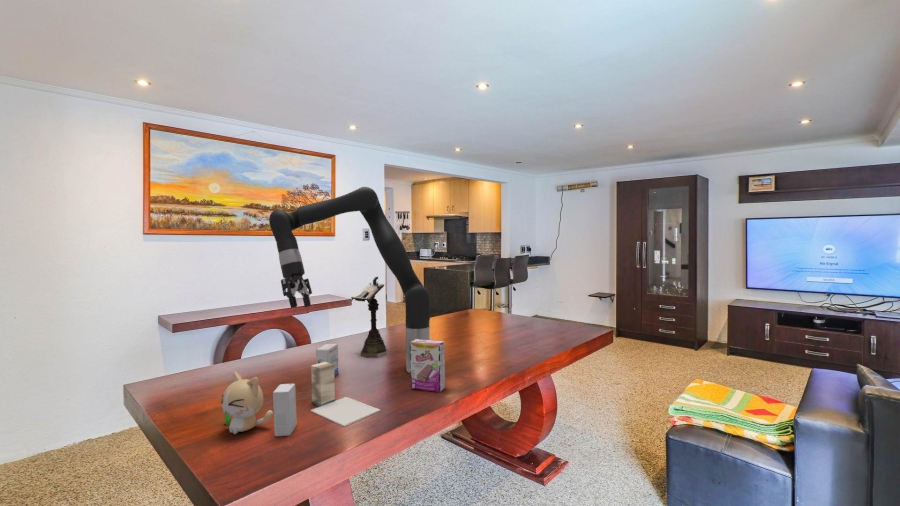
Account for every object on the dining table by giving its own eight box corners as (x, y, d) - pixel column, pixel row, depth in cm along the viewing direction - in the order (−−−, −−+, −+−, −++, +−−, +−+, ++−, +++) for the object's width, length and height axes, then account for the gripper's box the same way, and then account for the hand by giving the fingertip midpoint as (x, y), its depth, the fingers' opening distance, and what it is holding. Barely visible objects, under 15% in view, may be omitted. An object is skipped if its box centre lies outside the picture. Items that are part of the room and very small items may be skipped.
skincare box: (281, 426, 115) (279, 383, 114) (296, 425, 115) (295, 383, 115) (273, 436, 109) (272, 392, 108) (290, 435, 109) (289, 391, 109)
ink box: (327, 373, 159) (326, 343, 159) (339, 373, 158) (338, 343, 158) (315, 380, 151) (314, 349, 150) (328, 381, 150) (327, 349, 149)
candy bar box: (410, 389, 141) (409, 342, 140) (415, 384, 146) (415, 338, 145) (440, 393, 137) (439, 344, 137) (445, 387, 142) (445, 340, 141)
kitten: (209, 429, 113) (207, 376, 113) (243, 416, 122) (242, 365, 121) (241, 443, 106) (239, 385, 105) (275, 427, 114) (274, 374, 113)
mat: (310, 411, 124) (310, 410, 124) (346, 398, 134) (346, 396, 134) (344, 426, 114) (344, 425, 114) (380, 411, 124) (380, 409, 124)
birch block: (312, 402, 131) (311, 365, 130) (325, 397, 135) (324, 361, 134) (321, 406, 128) (320, 368, 127) (335, 401, 132) (334, 364, 131)
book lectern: (364, 362, 172) (362, 278, 170) (346, 356, 180) (344, 277, 179) (395, 353, 184) (393, 275, 183) (376, 348, 193) (375, 274, 191)
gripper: (288, 259, 142) (299, 304, 140) (311, 261, 156) (321, 303, 154) (270, 265, 143) (280, 310, 141) (294, 267, 157) (303, 308, 155)
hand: (301, 307), depth 147 cm, fingers open, 8 cm apart
